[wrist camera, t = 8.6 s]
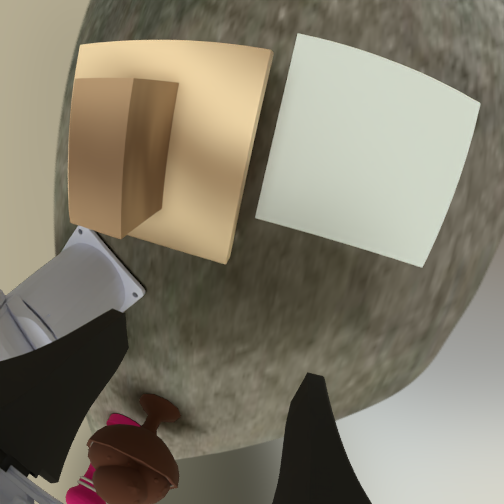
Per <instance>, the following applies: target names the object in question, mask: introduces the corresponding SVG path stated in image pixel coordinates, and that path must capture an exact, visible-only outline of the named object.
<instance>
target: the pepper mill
mask: <svg viewBox="0 0 504 504" xmlns="http://www.w3.org/2000/svg"><path fill="white" fill-rule="evenodd" d="M115 424H128V425H134V426H139V427H140V425H139V424H138V423H136V422H135V421H133V420H131V419H130V418H128V417H125V416H123V415H120V414H112V415H111V416H110V417H109V419H108V421H107V426H108V425H115ZM95 470H96V469H95V468H94V467H93V466H92V464H91V463H90V466H89V468H88V470H87V472H86V474H85V475H84V476H80V481H78V484H79V485H78V486H75V487H72V488H70V489H69V490H68V491H67V494H66V502H67V504H106V502H105V501H104V500H103V499H102V498H101V497H100V496H99V495H97V494H96V490H95V488H94V485H93V480H92V478H93V473H94V471H95Z"/></svg>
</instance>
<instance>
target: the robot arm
mask: <svg viewBox="0 0 504 504" xmlns="http://www.w3.org/2000/svg"><path fill="white" fill-rule="evenodd" d="M81 230H82V231H81ZM136 293H137V294H136ZM144 294H145V289H144V288H143V287H142V286H141V284H140V283H139V282H138V281H137V280H136V279H135V278H134V277H133V276H132V275H131V273H130V272H129V271H128V270H127V269H126V268H125V267H124V266H123V264H122V263H121V262H120V261H119V260H118V259H117V258H116V256H115V255H114V254H113V253H112V252H111V251H110V249H109V248H108V247H107V246H106V245H105V244H104V242H103V241H102V240H101V239H100V238H99V236H98V235H97V234H96V233H95V231H94V230H91V229H88V228H85V227H82V226H79V225H78V227H77V228H76V230H75V231H74V233H73V234H72V236H71V237H70V239H69V240H68V242H67V243H66V245H65V246H64V248H63V250H62V251H61V253H60V254H59V255H57V256H56V257H54V258H53V259H52V260H50V261H49V262H48V263H46V264H45V265H44V266H43V267H41V268H40V269H39V270H37V271H36V272H35V273H34V274H32V275H31V276H30V277H28V278H27V279H26V280H25V281H23V282H22V283H21V284H19V285H18V286H17V287H16V288H15V289H13V290H12V291H11V292H10V293H9V294H7V295H4V293H3V292H2V290H1V289H0V504H34V500H35V501H37V502H38V503H39V504H63V503H62V502H60V501H59V500H57V499H56V498H54V497H53V496H51V495H50V494H48V493H47V492H46V491H44V490H42V489H41V488H40V487H39V486H37V485H36V484H35V483H33V482H32V481H31V480H29V479H28V478H27V476H28V475H29V474H31V475H32V476H33V477H35V478H37V476H38V475H40V476H41V477H43V478H44V479H45V480H47V481H48V482H50V483H56V482H58V481H59V477H60V474H61V471H62V468H63V465H64V462H65V460H66V457H67V454H68V452H69V449H70V447H71V444H72V442H73V440H74V438H75V436H76V433H77V431H78V429H79V427H80V425H81V423H82V421H83V420H84V417H85V416H86V414H87V412H88V410H89V409H90V407H91V406H92V404H93V403H94V401H95V400H96V399H97V397H98V396H99V394H100V393H101V391H102V390H103V389H104V387H105V386H106V384H107V383H108V382H109V380H110V379H111V377H112V376H113V374H114V373H115V372H116V370H117V369H118V367H119V365H120V363H121V362H122V360H123V358H124V356H125V354H126V352H127V350H128V348H129V347H128V338H127V329H126V318H125V313H123V312H124V311H125V310H127V309H128V308H129V307H130V306H131V305H133V304H134V303H135V302H136V301H138V300H139V299H140V298H141V297H143V296H144ZM272 504H372V503H371V502H370V500H369V498H368V497H367V495H366V493H365V491H364V490H363V488H362V486H361V485H360V482H359V481H358V479H357V477H356V475H355V473H354V470H353V468H352V466H351V464H350V462H349V459H348V457H347V454H346V452H345V449H344V447H343V444H342V441H341V438H340V435H339V432H338V429H337V426H336V422H335V419H334V416H333V412H332V408H331V405H330V401H329V397H328V392H327V388H326V383H325V379H324V377H323V376H320V375H315V374H311V373H307V374H306V376H305V378H304V380H303V382H302V383H301V385H300V387H299V389H298V391H297V392H296V394H295V396H294V398H293V399H292V401H291V404H290V408H289V412H288V417H287V421H286V426H285V434H284V442H283V451H282V459H281V467H280V474H279V479H278V484H277V488H276V492H275V496H274V499H273V503H272Z"/></svg>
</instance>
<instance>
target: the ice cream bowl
mask: <svg viewBox="0 0 504 504" xmlns="http://www.w3.org/2000/svg"><path fill="white" fill-rule="evenodd" d="M139 402H140V404H141V406H142V408H143V410H144V411H145V412H146V413H147V415H148V416H147V418H146V420H145V422H144V424H143V425H142V426H140V427H139V426H134V425H128V424H115V425H108V426H105V427H103V428H101V429H99V430H98V431H96V432H95V433H94V435H93V436H92V437H91V438H90V439H89V440H88V442H87V446H88V447H89V449H88V450H89V452H88V457H89V459H90V462H91V464H92V466H93V467H94V468H95V469H96V470H95V471H94V473H93V478H92V480H93V485H94V488H95V490H96V494H97V495H99V496H100V497H101V498H102V499H103V500H104V501H105V502H107V503H108V504H154V503H156V502H158V501H159V500H161V499H162V498H164V497H165V496H166V494H167V493H168V491H169V489H174V488H178V482H179V471H178V465H177V464H176V462H175V459H174V457H173V455H172V454H171V452H170V450H169V449H168V447H167V446H166V444H165V443H164V442H163V441H162V439H160V438H159V437H158V436H157V428H158V426H159V425H160V423H161V422H175V421H176V420H177V419H178V418H179V417H180V416H181V415H180V412H179V410H178V408H177V407H175V406H174V405H173V404H172V403H170V402H169V401H168V400H166V399H164V398H161V397H159V396H157V395H154V394H143V395H142V396H141V398H140V401H139Z"/></svg>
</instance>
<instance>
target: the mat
mask: <svg viewBox="0 0 504 504" xmlns="http://www.w3.org/2000/svg"><path fill="white" fill-rule="evenodd" d="M479 107H480V103H479V102H477V101H475V100H474V99H472V98H470V97H468V96H467V95H465V94H463V93H461V92H459V91H457V90H456V89H454V88H452V87H450V86H448V85H446V84H444V83H442V82H440V81H438V80H436V79H434V78H431V77H429V76H427V75H425V74H423V73H420V72H418V71H416V70H414V69H411V68H409V67H406V66H404V65H401V64H399V63H396V62H394V61H391V60H389V59H386V58H383V57H380V56H377V55H375V54H372V53H369V52H366V51H363V50H360V49H356V48H353V47H350V46H346V45H343V44H339V43H336V42H332V41H328V40H324V39H320V38H316V37H312V36H307V35H303V34H297V38H296V43H295V47H294V51H293V55H292V60H291V64H290V68H289V73H288V77H287V81H286V85H285V90H284V94H283V98H282V103H281V107H280V111H279V116H278V120H277V124H276V128H275V133H274V137H273V141H272V146H271V150H270V154H269V159H268V163H267V168H266V172H265V176H264V181H263V185H262V189H261V194H260V198H259V203H258V207H257V211H256V216H255V218H257V219H261V220H264V221H268V222H272V223H275V224H279V225H282V226H286V227H290V228H293V229H297V230H300V231H304V232H307V233H311V234H314V235H318V236H321V237H324V238H328V239H331V240H335V241H338V242H341V243H345V244H348V245H351V246H355V247H358V248H361V249H365V250H368V251H371V252H374V253H378V254H381V255H384V256H387V257H390V258H394V259H397V260H400V261H403V262H406V263H409V264H412V265H416V266H419V267H423V265H424V263H425V261H426V259H427V257H428V255H429V252H430V250H431V248H432V246H433V244H434V241H435V239H436V237H437V235H438V232H439V230H440V228H441V225H442V223H443V220H444V218H445V216H446V213H447V211H448V208H449V205H450V203H451V200H452V198H453V195H454V192H455V189H456V187H457V184H458V181H459V178H460V175H461V172H462V169H463V166H464V163H465V160H466V156H467V153H468V150H469V146H470V143H471V139H472V136H473V132H474V128H475V124H476V120H477V116H478V112H479Z"/></svg>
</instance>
